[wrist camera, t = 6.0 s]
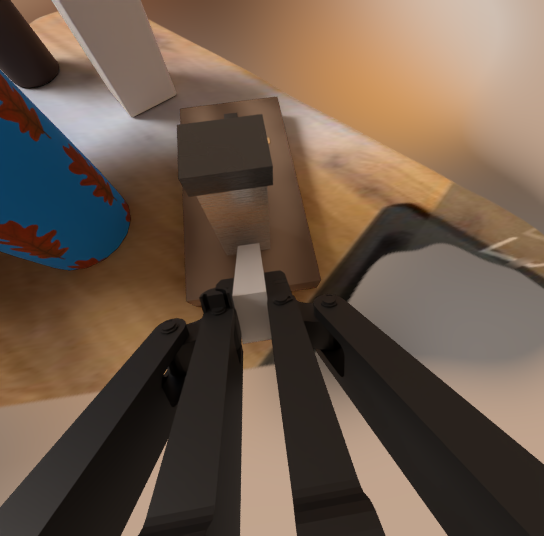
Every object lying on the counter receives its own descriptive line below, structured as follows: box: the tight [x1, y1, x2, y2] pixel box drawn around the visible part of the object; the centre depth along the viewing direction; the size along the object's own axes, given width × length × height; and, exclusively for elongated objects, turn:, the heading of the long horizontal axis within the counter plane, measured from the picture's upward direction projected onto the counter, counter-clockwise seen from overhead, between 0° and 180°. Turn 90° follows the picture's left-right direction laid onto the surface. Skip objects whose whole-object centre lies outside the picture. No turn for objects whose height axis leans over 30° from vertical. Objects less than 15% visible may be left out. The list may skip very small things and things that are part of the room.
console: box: [180, 97, 321, 306], centre depth 26 cm, size 12×24×3 cm, turn 9°
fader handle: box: [177, 114, 273, 256], centre depth 17 cm, size 5×4×10 cm
